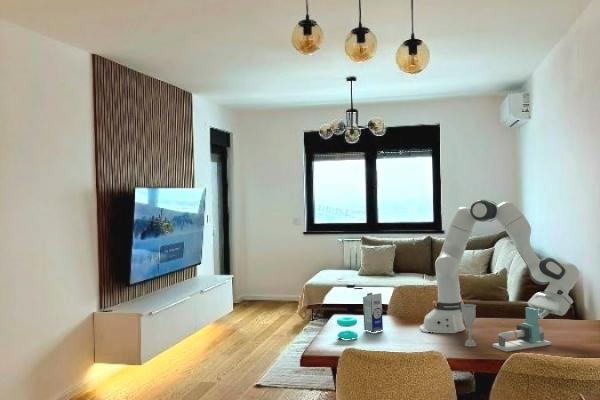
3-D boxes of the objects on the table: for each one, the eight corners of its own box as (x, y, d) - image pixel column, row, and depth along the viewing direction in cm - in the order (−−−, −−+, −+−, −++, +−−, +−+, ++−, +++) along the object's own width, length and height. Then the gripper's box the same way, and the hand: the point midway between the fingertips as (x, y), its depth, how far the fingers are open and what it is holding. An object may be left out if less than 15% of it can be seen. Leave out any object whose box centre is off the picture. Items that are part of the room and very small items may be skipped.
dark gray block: (526, 341, 244) (526, 327, 244) (517, 338, 249) (516, 324, 250) (529, 341, 244) (529, 327, 244) (519, 338, 250) (519, 324, 250)
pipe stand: (506, 351, 238) (505, 335, 238) (492, 346, 247) (492, 330, 247) (550, 344, 246) (550, 328, 246) (536, 340, 255) (535, 324, 255)
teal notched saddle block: (532, 342, 244) (531, 310, 244) (521, 338, 251) (520, 307, 251) (539, 341, 245) (538, 309, 245) (528, 337, 252) (527, 306, 252)
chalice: (459, 343, 254) (458, 304, 254) (474, 342, 255) (472, 303, 255) (466, 347, 247) (464, 307, 247) (480, 346, 248) (479, 306, 248)
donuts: (333, 319, 270) (341, 315, 279) (334, 340, 270) (342, 335, 279) (352, 321, 265) (360, 317, 274) (353, 342, 265) (360, 337, 274)
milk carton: (373, 334, 279) (371, 294, 279) (364, 331, 284) (362, 293, 284) (383, 331, 283) (381, 292, 283) (374, 329, 288) (372, 291, 288)
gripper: (534, 286, 262) (518, 309, 259) (567, 293, 243) (551, 317, 239) (542, 295, 263) (526, 317, 260) (576, 302, 244) (559, 326, 241)
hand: (538, 317), depth 250 cm, fingers closed
